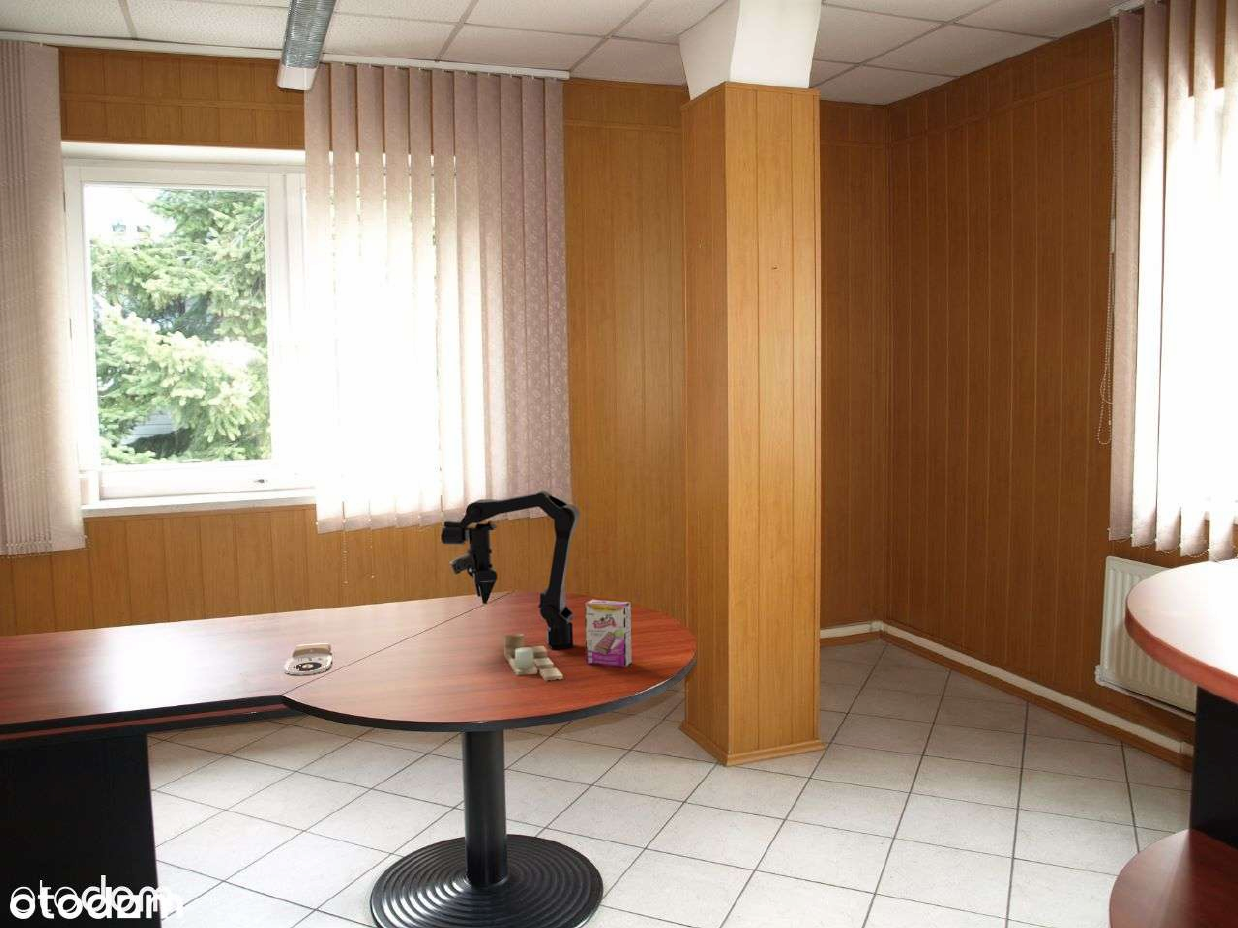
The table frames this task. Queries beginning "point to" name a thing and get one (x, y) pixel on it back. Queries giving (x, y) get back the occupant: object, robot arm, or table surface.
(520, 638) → the beige long blocky piece
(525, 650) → the mint rounded cylinder
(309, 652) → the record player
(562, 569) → the robot arm
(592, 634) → the candy bar box
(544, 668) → the broken strip
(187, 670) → the table surface
